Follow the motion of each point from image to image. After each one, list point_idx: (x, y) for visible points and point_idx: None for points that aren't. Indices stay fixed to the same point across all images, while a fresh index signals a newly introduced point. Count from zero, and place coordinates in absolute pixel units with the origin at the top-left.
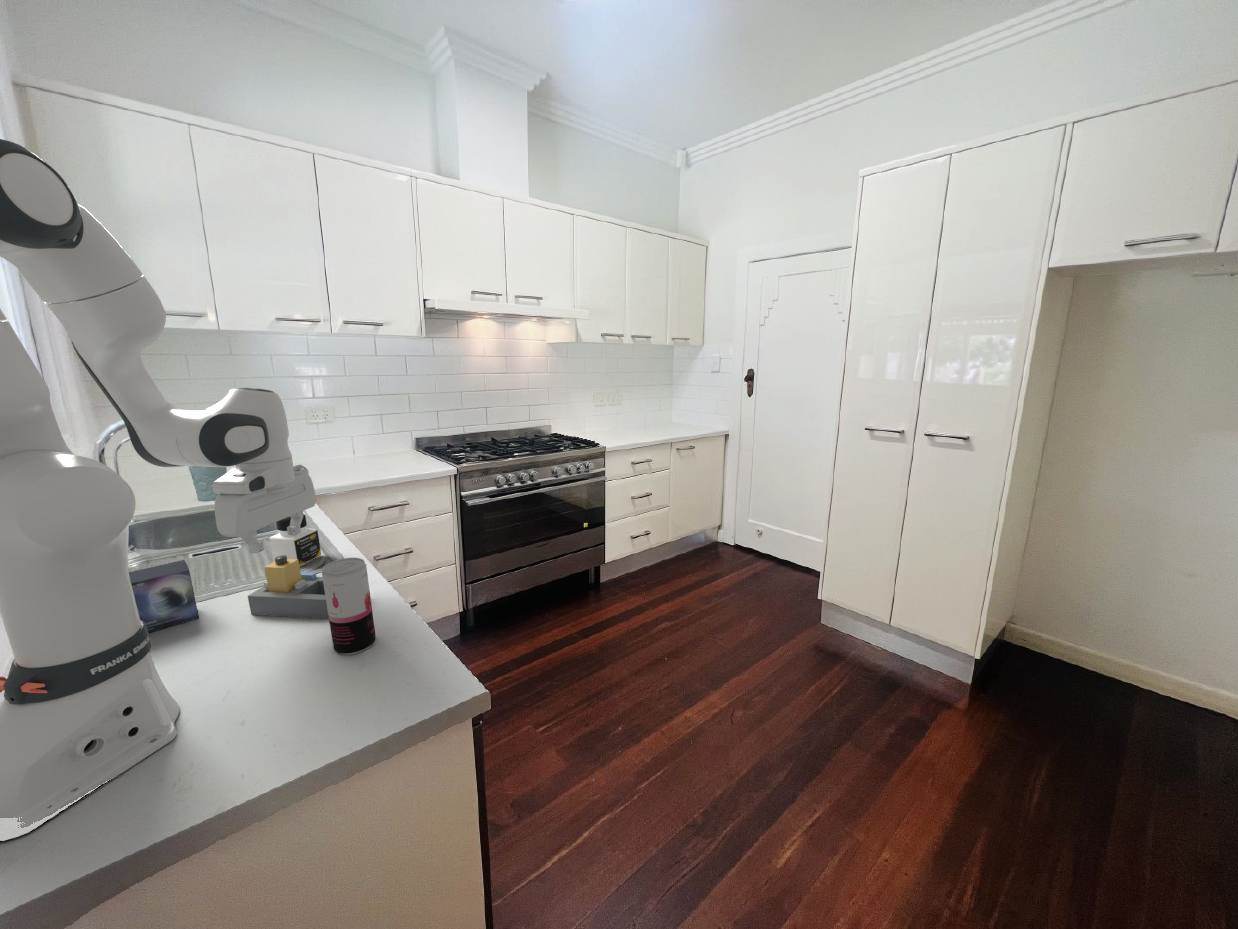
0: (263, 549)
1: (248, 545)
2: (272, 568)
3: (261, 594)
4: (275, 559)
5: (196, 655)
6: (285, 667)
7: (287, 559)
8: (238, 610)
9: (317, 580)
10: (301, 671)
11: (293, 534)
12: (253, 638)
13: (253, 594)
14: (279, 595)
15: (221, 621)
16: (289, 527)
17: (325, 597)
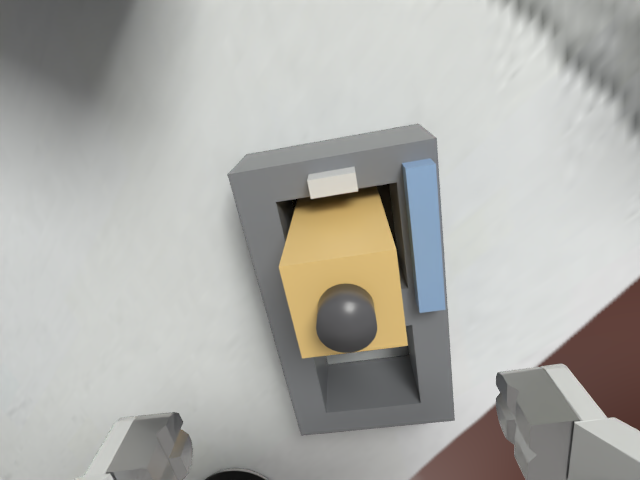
0: (191, 455)
1: (90, 467)
2: (290, 303)
3: (256, 220)
4: (317, 323)
5: (37, 219)
6: None
7: (393, 298)
8: (251, 71)
9: (415, 321)
10: None
11: (498, 411)
12: (160, 287)
13: (244, 189)
14: (275, 290)
15: (174, 91)
16: (528, 443)
17: (313, 426)
